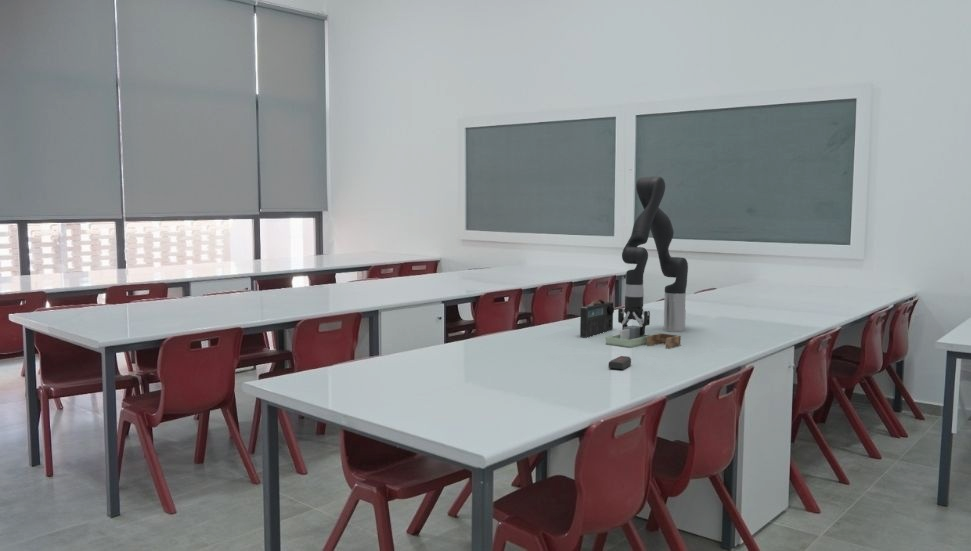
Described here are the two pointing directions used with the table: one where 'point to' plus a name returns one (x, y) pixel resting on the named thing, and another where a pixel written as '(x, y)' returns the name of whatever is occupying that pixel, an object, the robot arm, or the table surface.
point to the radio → (596, 318)
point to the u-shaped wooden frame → (664, 340)
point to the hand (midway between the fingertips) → (633, 334)
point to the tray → (626, 341)
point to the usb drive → (620, 362)
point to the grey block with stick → (630, 332)
